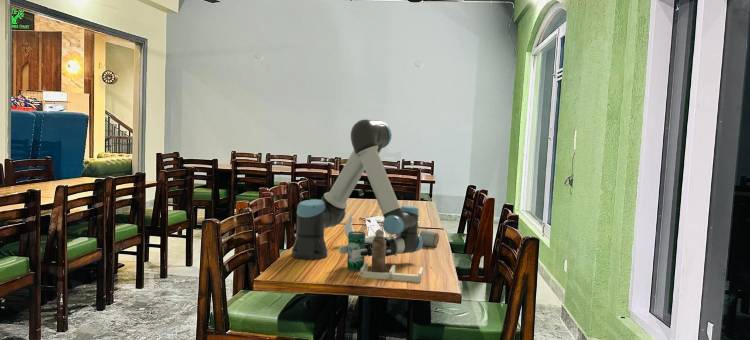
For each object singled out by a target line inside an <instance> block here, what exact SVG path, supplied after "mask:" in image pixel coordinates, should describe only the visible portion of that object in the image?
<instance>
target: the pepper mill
mask: <svg viewBox="0 0 750 340" xmlns="http://www.w3.org/2000/svg"><path fill="white" fill-rule="evenodd" d="M374 235H376V236H374V239H373V242H372V256H371V268H370V269H371V270H370V271H371V272H379V273H385V272H386V257H387V256H386V240H385V237H386V236H385V232H384V231H383V229H377V230H376V231H375V234H374ZM383 236H384V237H383Z"/></svg>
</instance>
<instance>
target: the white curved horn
mask: <svg viewBox="0 0 750 340" xmlns="http://www.w3.org/2000/svg"><path fill="white" fill-rule="evenodd" d="M348 219H349V220H348V222H346V223H345V225H344V234H345V236H346V238H347V239H348V235H349V232H352V231H355V229H354V227H353V220H354V217H353V216H352V215H351V214H350V215H349V217H348ZM374 236H376V235H375V234H374V235H365V242H371V243H372V242H373V239H374ZM383 237H385V235H384V236H383Z"/></svg>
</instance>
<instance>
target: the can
mask: <svg viewBox="0 0 750 340" xmlns="http://www.w3.org/2000/svg"><path fill="white" fill-rule="evenodd" d="M365 236H366V232H364V231H356V230H354V231H352V232H349V235H348V238H347V245H348V253H347V262H346V263H347V267H346V268H347V270H348V271H351V272H352V271H353V272H360V269H361V268H362V266H363V265H364V264H365V256H364V257H357V258H352V251H353V250H360V249H365Z"/></svg>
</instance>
